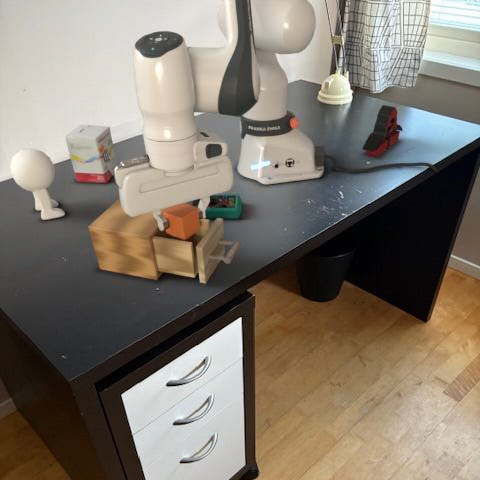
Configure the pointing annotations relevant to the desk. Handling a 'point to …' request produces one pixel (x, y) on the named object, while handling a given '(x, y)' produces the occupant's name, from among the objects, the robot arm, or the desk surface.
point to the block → (182, 220)
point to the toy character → (36, 179)
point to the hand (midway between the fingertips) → (182, 223)
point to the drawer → (194, 251)
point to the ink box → (92, 153)
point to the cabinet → (125, 242)
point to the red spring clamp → (383, 132)
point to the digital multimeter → (221, 206)
